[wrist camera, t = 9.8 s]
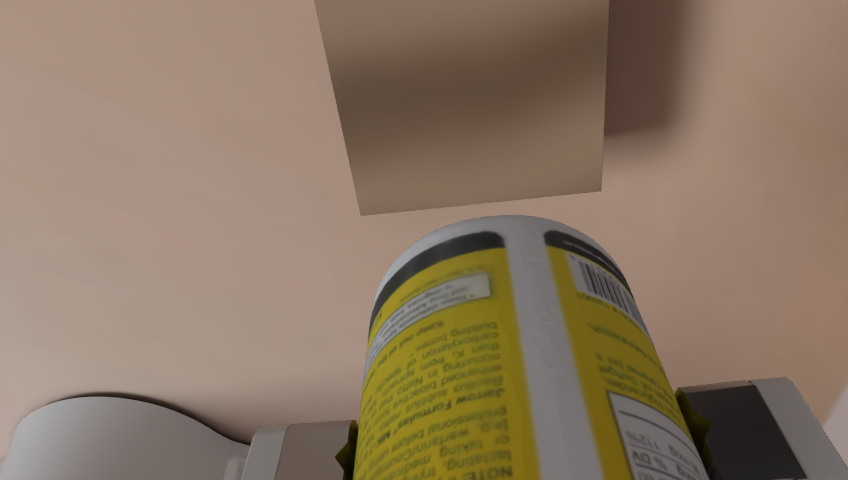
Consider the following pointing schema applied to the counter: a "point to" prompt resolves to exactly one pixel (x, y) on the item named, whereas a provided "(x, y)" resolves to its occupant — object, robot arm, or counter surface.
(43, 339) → the counter surface
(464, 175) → the walnut block
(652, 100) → the counter surface
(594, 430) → the supplement bottle
